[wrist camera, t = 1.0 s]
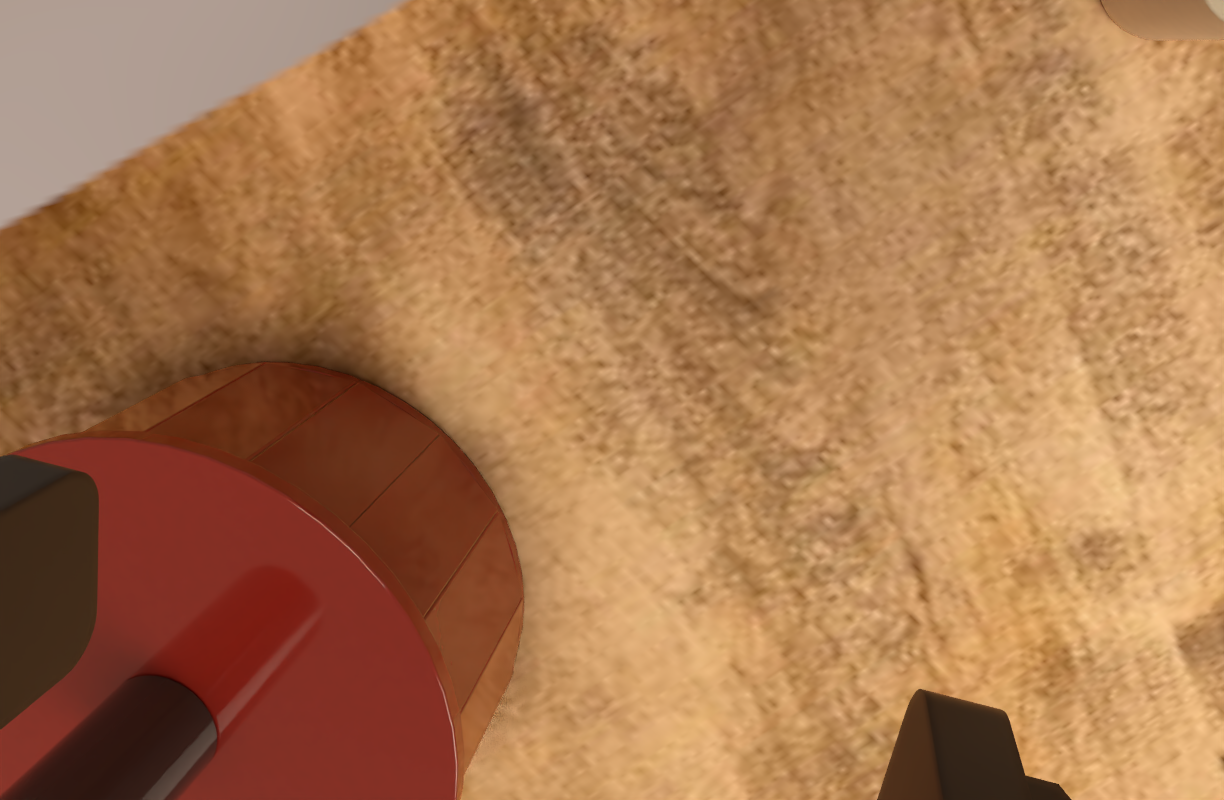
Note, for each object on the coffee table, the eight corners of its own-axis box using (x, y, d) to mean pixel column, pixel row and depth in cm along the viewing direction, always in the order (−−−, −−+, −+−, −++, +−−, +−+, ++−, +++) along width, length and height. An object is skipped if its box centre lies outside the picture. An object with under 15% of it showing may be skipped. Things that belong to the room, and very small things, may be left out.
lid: (-165, 473, 28) (-476, 609, 21) (366, 368, 24) (191, 493, 17) (57, 945, 32) (-144, 1183, 25) (540, 919, 28) (453, 1191, 22)
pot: (38, 405, 34) (-162, 497, 27) (451, 320, 31) (342, 401, 24) (191, 782, 38) (51, 947, 31) (574, 745, 35) (512, 922, 28)
